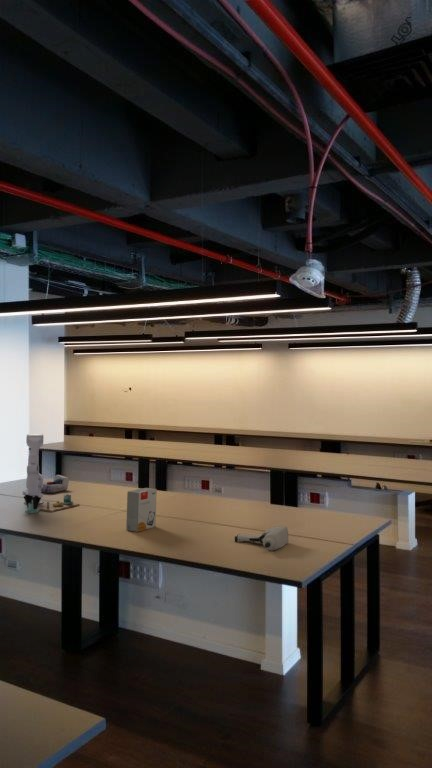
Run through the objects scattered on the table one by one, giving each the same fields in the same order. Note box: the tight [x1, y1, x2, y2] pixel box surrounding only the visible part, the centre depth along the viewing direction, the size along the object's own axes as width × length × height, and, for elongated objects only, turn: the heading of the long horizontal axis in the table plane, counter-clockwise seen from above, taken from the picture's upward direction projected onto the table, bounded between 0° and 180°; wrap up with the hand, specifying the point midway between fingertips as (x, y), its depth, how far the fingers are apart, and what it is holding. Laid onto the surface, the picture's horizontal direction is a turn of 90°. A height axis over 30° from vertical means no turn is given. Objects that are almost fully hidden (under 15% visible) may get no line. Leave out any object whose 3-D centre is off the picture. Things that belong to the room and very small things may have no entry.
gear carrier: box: [37, 493, 80, 513], centre depth 345 cm, size 23×13×7 cm, turn 150°
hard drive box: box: [125, 487, 158, 533], centre depth 298 cm, size 16×8×20 cm, turn 148°
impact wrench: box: [234, 526, 290, 552], centre depth 268 cm, size 8×23×25 cm
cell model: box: [41, 474, 70, 494], centre depth 397 cm, size 13×11×20 cm
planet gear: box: [24, 502, 40, 514], centre depth 332 cm, size 8×8×5 cm
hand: (32, 508), depth 332 cm, fingers closed on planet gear, 4 cm apart
